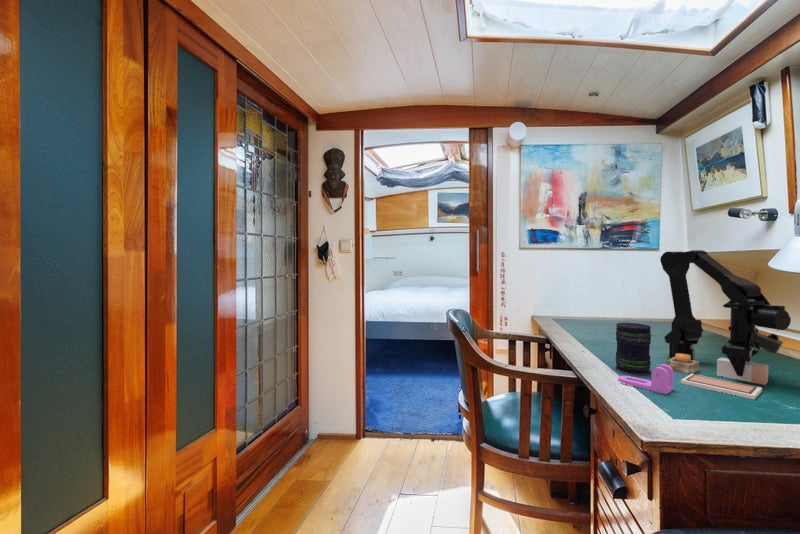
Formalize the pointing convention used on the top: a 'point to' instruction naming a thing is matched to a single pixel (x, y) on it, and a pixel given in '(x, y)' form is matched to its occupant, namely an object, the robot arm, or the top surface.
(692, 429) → the top surface
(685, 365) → the button block
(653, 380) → the bracket
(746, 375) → the two-tone rectangular block
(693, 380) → the picture board
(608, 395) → the top surface
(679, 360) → the button
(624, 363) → the storage jar
